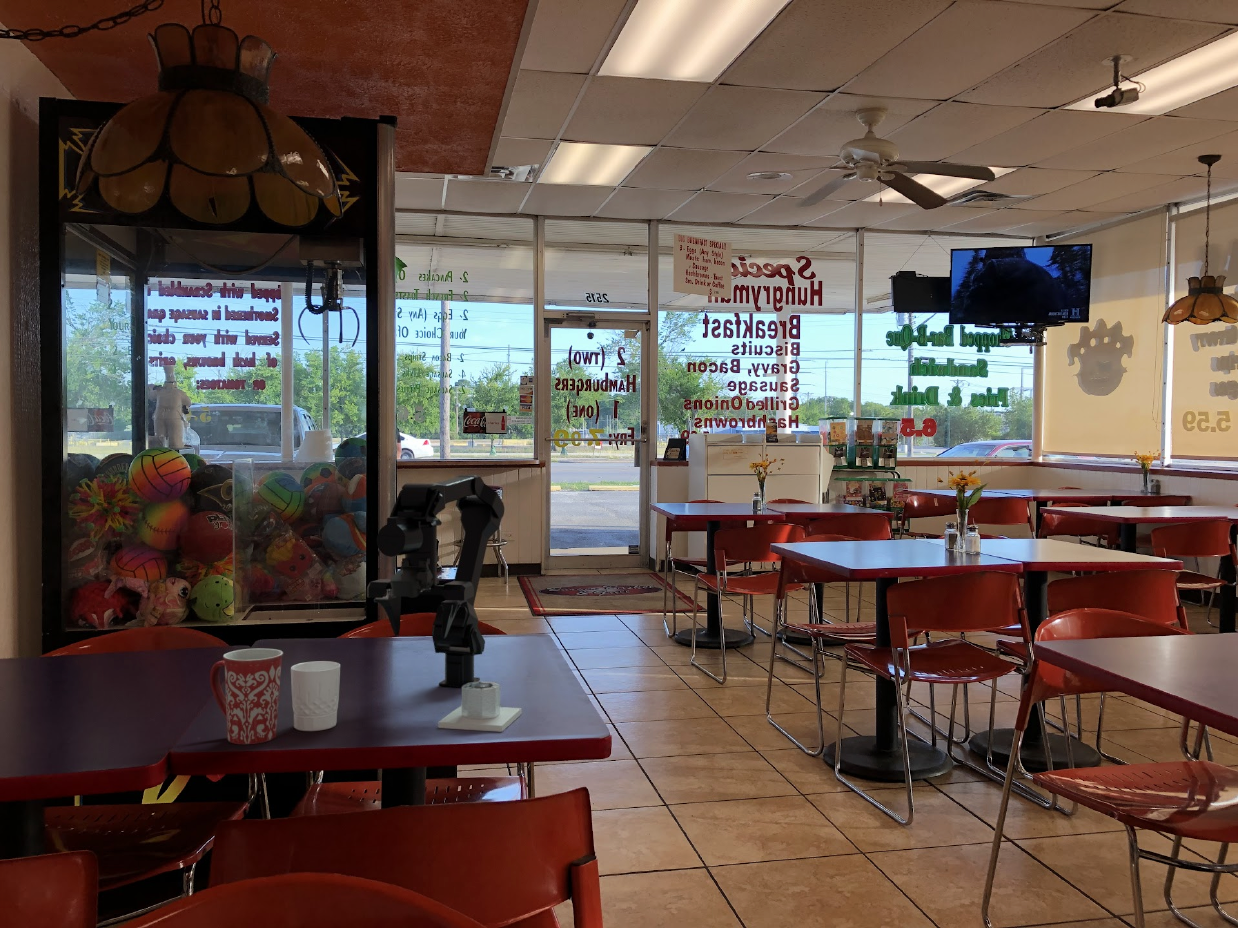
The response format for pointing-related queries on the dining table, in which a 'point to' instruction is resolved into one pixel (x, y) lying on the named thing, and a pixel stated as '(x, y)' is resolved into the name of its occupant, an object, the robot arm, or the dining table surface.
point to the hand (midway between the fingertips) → (420, 636)
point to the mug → (249, 693)
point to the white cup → (315, 694)
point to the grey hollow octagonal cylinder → (480, 701)
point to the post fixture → (494, 724)
